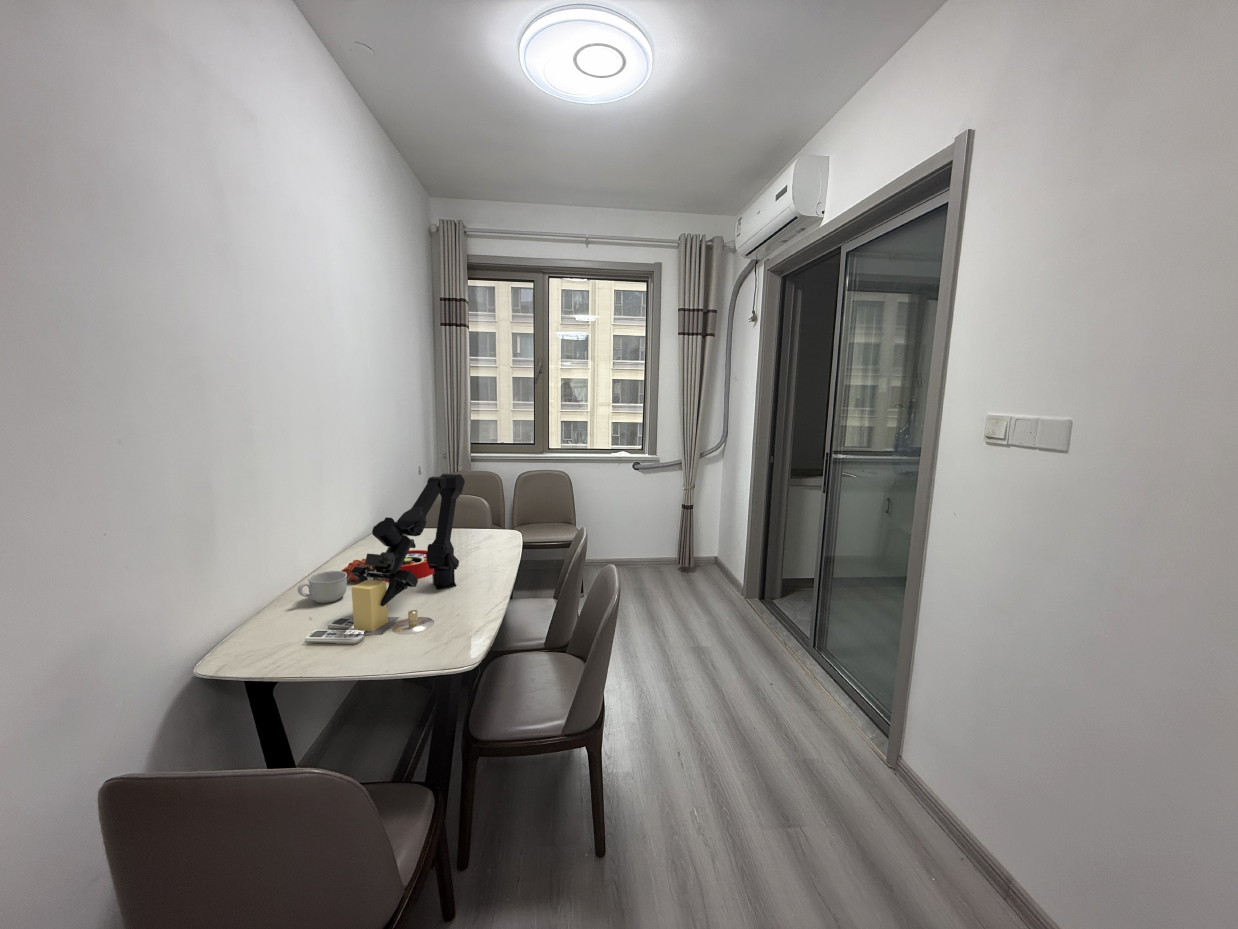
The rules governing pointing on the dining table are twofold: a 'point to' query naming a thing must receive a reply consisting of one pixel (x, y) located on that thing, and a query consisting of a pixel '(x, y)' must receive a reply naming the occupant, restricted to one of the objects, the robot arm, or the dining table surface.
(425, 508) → the robot arm
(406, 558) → the toy clock
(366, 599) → the tan wooden brick
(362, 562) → the dragon fruit
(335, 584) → the teacup
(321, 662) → the dining table surface
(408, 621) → the silver metal disc
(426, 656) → the dining table surface
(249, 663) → the dining table surface
